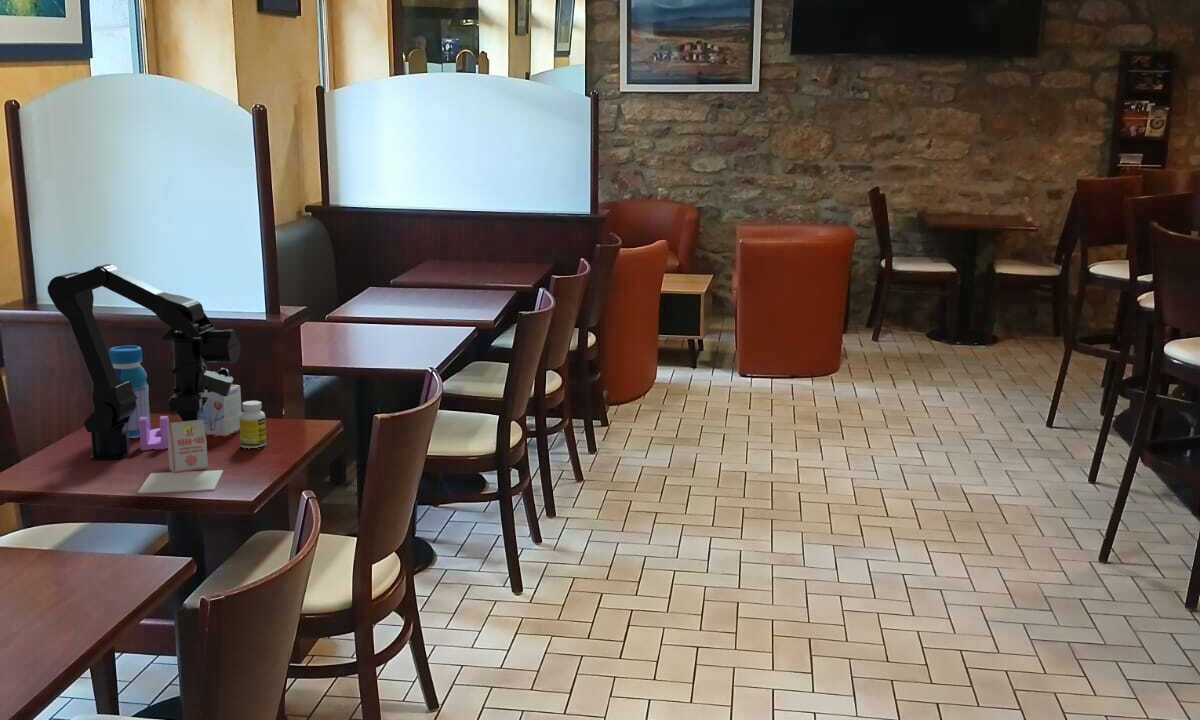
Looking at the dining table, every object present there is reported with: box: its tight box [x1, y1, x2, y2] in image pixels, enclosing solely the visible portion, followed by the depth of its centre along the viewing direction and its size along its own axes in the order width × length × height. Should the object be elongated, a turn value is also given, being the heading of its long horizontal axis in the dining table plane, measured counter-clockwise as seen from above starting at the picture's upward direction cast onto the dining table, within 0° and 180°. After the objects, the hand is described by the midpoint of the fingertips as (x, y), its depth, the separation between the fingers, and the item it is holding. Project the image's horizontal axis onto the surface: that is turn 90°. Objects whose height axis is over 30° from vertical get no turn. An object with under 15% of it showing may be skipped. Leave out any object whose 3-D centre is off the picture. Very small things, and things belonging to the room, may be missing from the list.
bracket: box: [139, 415, 170, 451], centre depth 253 cm, size 13×6×7 cm, turn 13°
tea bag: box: [167, 419, 209, 473], centre depth 233 cm, size 4×7×10 cm, turn 122°
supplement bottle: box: [239, 400, 267, 450], centre depth 250 cm, size 5×5×10 cm
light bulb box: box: [199, 384, 243, 435], centre depth 261 cm, size 11×7×11 cm, turn 73°
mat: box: [137, 469, 224, 495], centre depth 226 cm, size 14×12×1 cm
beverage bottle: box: [108, 345, 152, 439], centre depth 257 cm, size 8×8×20 cm
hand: (193, 433), depth 240 cm, fingers closed
